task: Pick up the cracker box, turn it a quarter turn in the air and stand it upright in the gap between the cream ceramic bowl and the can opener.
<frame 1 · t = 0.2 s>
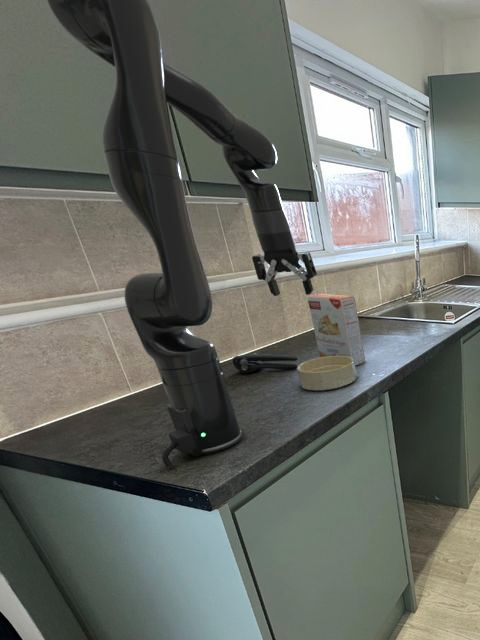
hand: (293, 294, 109), 24 cm above the worktop, tool pointing down, fingers open, 8 cm apart
bowl: (329, 382, 114), on the worktop
cracker box: (343, 363, 130), on the worktop
can opener: (268, 371, 125), on the worktop
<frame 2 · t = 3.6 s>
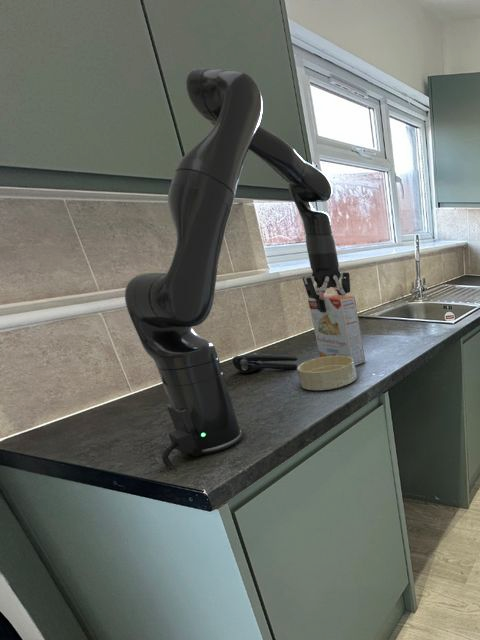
hand: (333, 309, 124), 17 cm above the worktop, tool pointing down, fingers closed on cracker box, 6 cm apart
cracker box: (343, 363, 130), on the worktop, touching gripper
everything else where it was.
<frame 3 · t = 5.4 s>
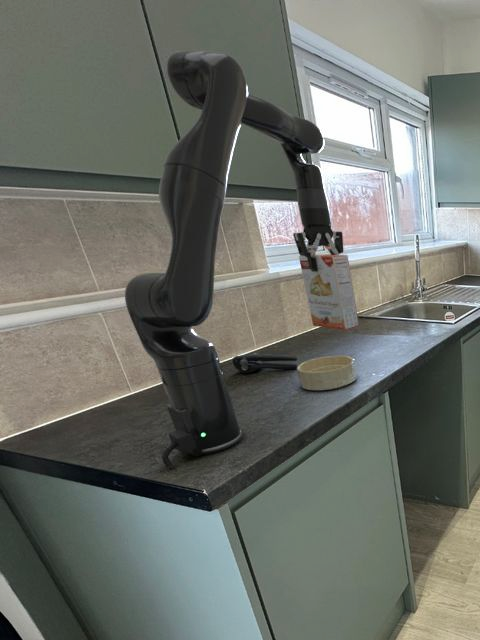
hand: (325, 270, 120), 28 cm above the worktop, tool pointing down, fingers closed on cracker box, 6 cm apart
cracker box: (335, 327, 126), point 11 cm above the worktop, touching gripper
everything else where it was.
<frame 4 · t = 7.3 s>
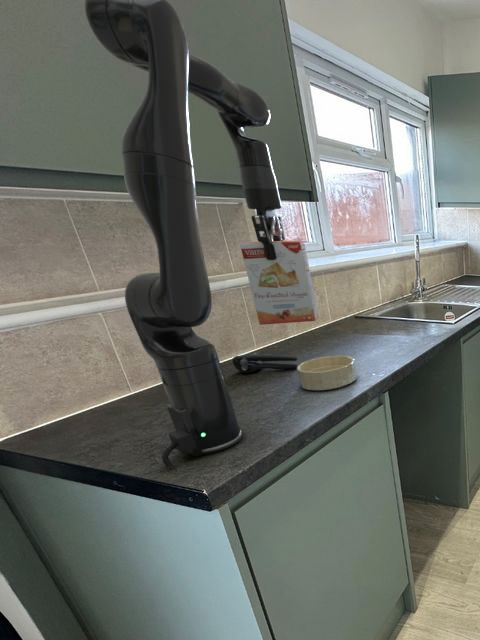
hand: (276, 258, 108), 32 cm above the worktop, tool pointing down, fingers closed on cracker box, 6 cm apart
cracker box: (290, 322, 114), point 16 cm above the worktop, touching gripper
everything else where it was.
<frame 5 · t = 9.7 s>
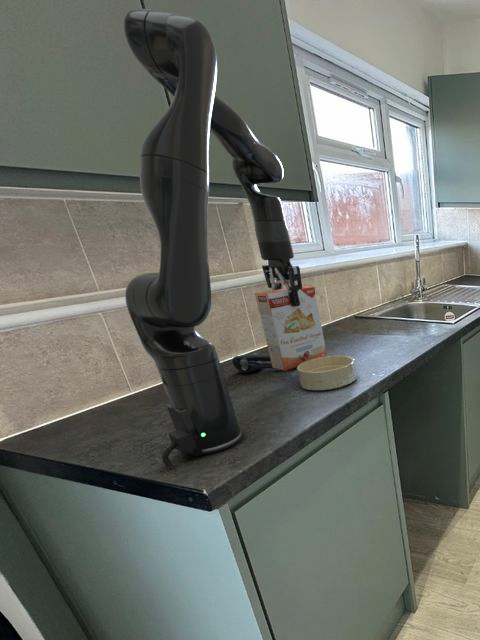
hand: (288, 305, 113), 20 cm above the worktop, tool pointing down, fingers closed on cracker box, 6 cm apart
cracker box: (301, 363, 119), point 4 cm above the worktop, touching gripper
everything else where it was.
when the fingers open (17 cm above the worktop, at t = 11.4 s): cracker box stays where it is, on the worktop.
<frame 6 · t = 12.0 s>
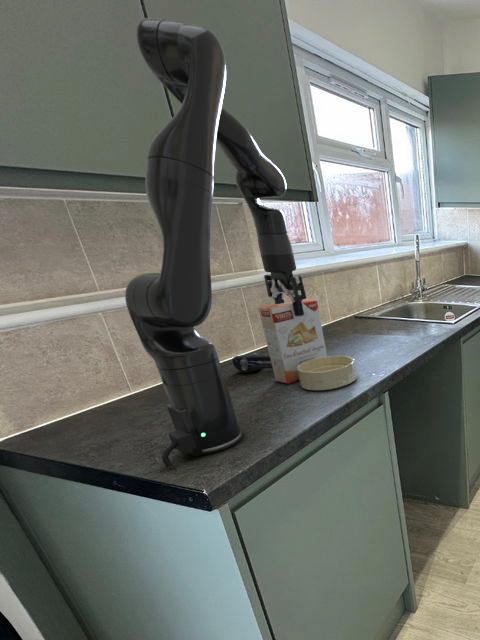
hand: (290, 314, 114), 18 cm above the worktop, tool pointing down, fingers open, 8 cm apart
cracker box: (304, 376, 120), on the worktop
everything else where it was.
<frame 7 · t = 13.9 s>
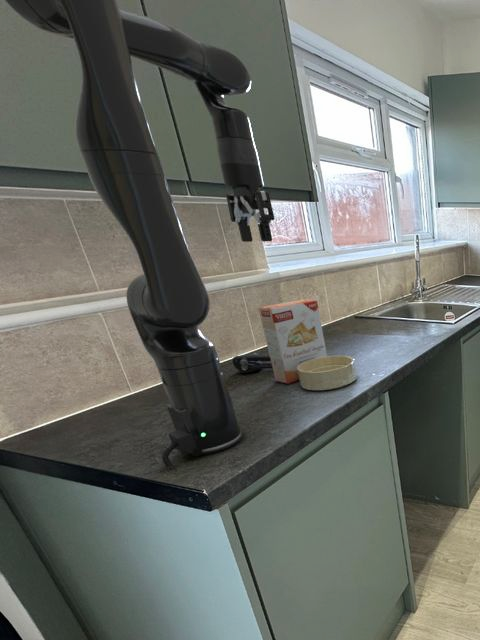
hand: (257, 241, 97), 37 cm above the worktop, tool pointing down, fingers open, 8 cm apart
nothing on the worktop moved.
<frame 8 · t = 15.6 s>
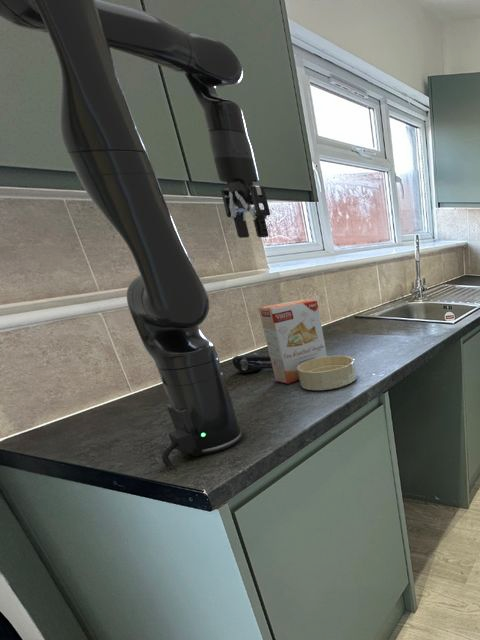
hand: (253, 237, 95), 38 cm above the worktop, tool pointing down, fingers open, 8 cm apart
nothing on the worktop moved.
at the end: cracker box inside the target area (0.1 cm from its centre), on the worktop; cracker box tilted 0°; the gripper is holding nothing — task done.
